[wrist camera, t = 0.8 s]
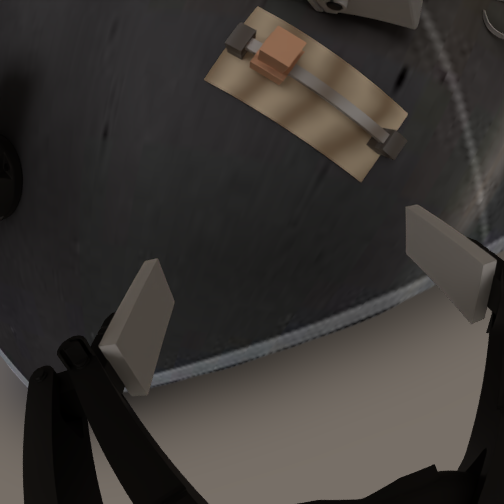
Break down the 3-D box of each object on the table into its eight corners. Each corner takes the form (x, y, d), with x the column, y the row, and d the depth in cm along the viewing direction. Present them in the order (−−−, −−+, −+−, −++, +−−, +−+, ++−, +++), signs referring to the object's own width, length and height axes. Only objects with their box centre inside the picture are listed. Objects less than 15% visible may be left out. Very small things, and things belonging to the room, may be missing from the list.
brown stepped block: (249, 67, 31) (251, 52, 23) (269, 40, 30) (276, 18, 21) (278, 85, 32) (289, 75, 24) (298, 58, 31) (315, 41, 22)
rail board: (205, 80, 34) (197, 74, 28) (257, 9, 30) (259, -9, 24) (358, 180, 40) (376, 192, 34) (404, 113, 36) (428, 115, 30)
